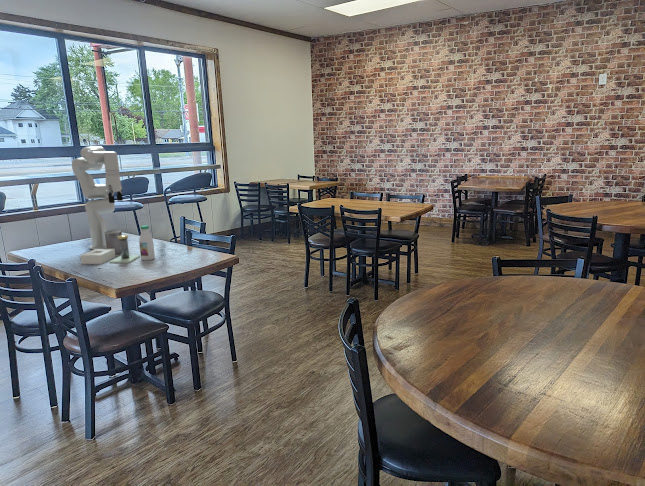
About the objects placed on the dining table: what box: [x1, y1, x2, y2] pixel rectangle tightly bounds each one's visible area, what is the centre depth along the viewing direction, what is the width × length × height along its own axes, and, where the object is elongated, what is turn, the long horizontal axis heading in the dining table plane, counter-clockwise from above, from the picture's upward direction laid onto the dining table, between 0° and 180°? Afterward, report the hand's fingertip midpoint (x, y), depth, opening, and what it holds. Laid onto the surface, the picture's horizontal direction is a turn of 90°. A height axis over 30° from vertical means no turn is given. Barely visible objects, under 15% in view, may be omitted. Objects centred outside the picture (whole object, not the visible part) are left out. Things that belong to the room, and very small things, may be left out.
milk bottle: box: [138, 224, 156, 261], centre depth 268 cm, size 8×8×20 cm
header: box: [80, 248, 117, 265], centre depth 269 cm, size 16×12×5 cm
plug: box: [118, 234, 130, 259], centre depth 268 cm, size 6×6×13 cm
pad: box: [108, 254, 141, 264], centre depth 269 cm, size 14×12×1 cm
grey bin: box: [105, 229, 123, 255], centre depth 286 cm, size 10×10×15 cm
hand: (116, 201), depth 273 cm, fingers open, 9 cm apart
